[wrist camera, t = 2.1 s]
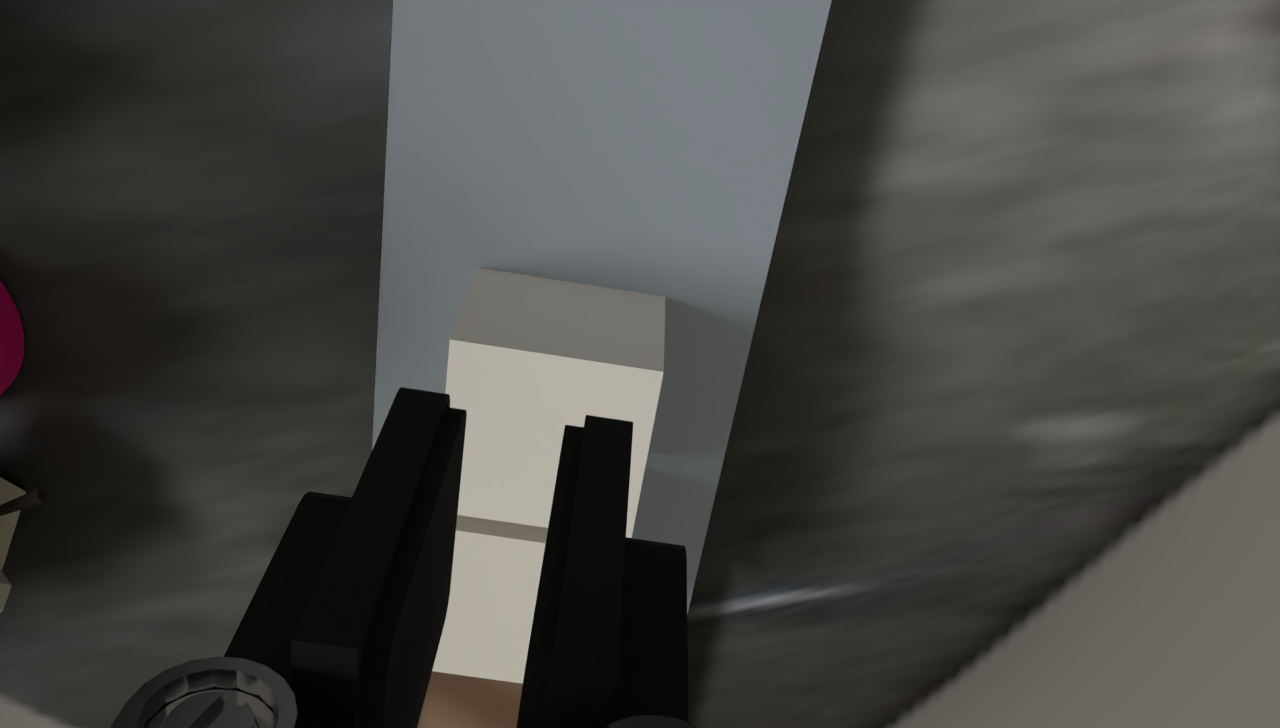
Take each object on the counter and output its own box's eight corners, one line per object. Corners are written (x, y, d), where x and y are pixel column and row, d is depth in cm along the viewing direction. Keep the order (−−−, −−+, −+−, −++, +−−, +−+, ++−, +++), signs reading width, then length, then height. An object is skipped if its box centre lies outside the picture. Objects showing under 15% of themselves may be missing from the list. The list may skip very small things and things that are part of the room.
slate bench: (421, -129, 27) (399, -117, 25) (828, -59, 28) (841, -41, 25) (384, 526, 37) (366, 575, 35) (685, 569, 37) (685, 621, 35)
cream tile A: (476, 267, 29) (449, 339, 26) (665, 296, 30) (663, 372, 26) (462, 426, 32) (435, 511, 28) (636, 452, 32) (630, 539, 29)
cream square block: (460, 440, 32) (434, 527, 29) (633, 466, 32) (627, 555, 29) (448, 574, 35) (422, 669, 31) (608, 597, 35) (600, 694, 31)
